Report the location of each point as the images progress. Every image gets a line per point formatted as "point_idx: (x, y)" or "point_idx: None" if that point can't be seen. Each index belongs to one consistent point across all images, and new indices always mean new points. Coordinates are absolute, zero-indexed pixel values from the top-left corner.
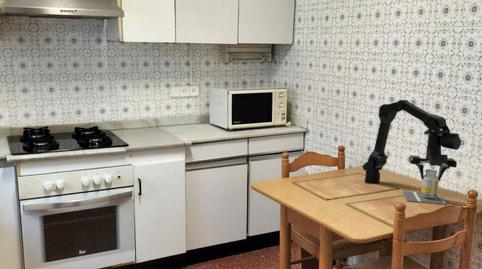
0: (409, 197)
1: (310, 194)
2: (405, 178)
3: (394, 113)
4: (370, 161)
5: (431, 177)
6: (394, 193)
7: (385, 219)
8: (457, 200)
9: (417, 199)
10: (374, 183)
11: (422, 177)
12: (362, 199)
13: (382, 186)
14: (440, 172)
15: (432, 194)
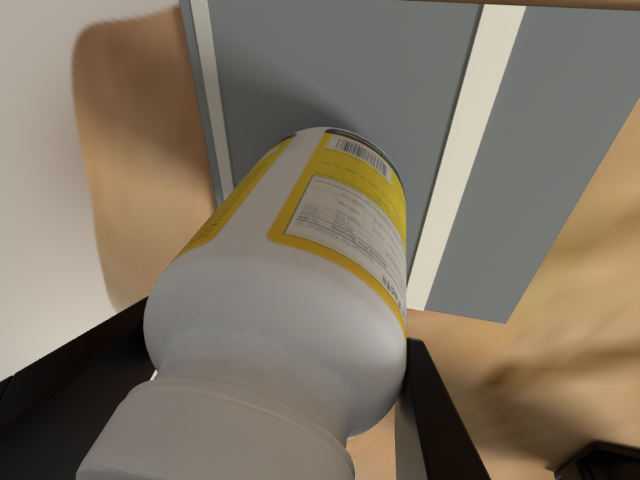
0: (555, 158)
1: None
2: (362, 471)
3: None
4: None
5: (259, 318)
6: (615, 289)
7: None
8: (112, 176)
9: (498, 81)
10: (626, 449)
11: (423, 374)
12: None
13: (595, 412)
14: (12, 434)
15: (303, 138)
